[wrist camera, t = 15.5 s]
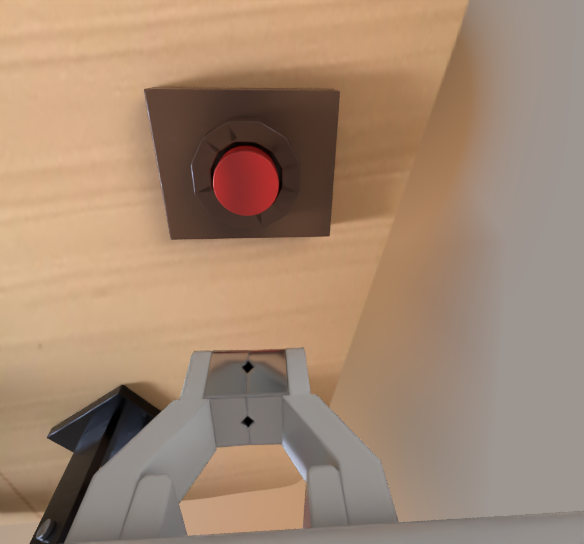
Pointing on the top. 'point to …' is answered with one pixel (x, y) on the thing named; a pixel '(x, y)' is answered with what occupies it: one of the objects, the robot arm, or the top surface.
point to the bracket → (90, 453)
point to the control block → (239, 132)
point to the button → (246, 180)
